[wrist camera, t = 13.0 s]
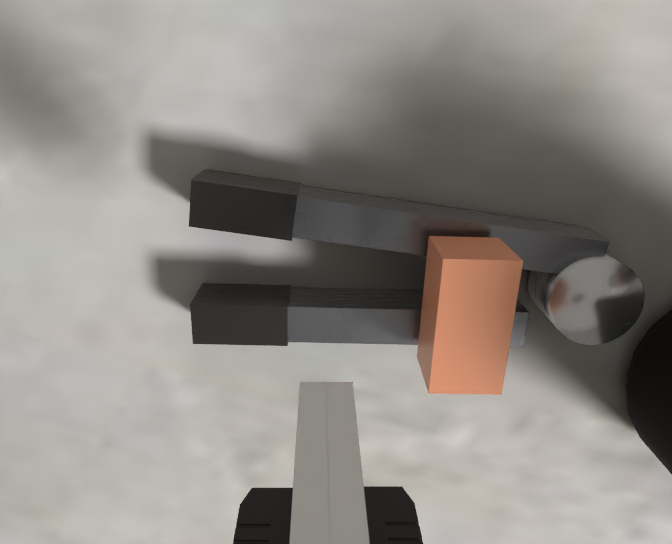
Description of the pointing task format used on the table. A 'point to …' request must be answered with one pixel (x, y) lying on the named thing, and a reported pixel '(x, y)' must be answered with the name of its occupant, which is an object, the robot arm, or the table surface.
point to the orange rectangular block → (467, 314)
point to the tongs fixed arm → (313, 315)
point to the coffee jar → (653, 390)
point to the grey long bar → (430, 220)
